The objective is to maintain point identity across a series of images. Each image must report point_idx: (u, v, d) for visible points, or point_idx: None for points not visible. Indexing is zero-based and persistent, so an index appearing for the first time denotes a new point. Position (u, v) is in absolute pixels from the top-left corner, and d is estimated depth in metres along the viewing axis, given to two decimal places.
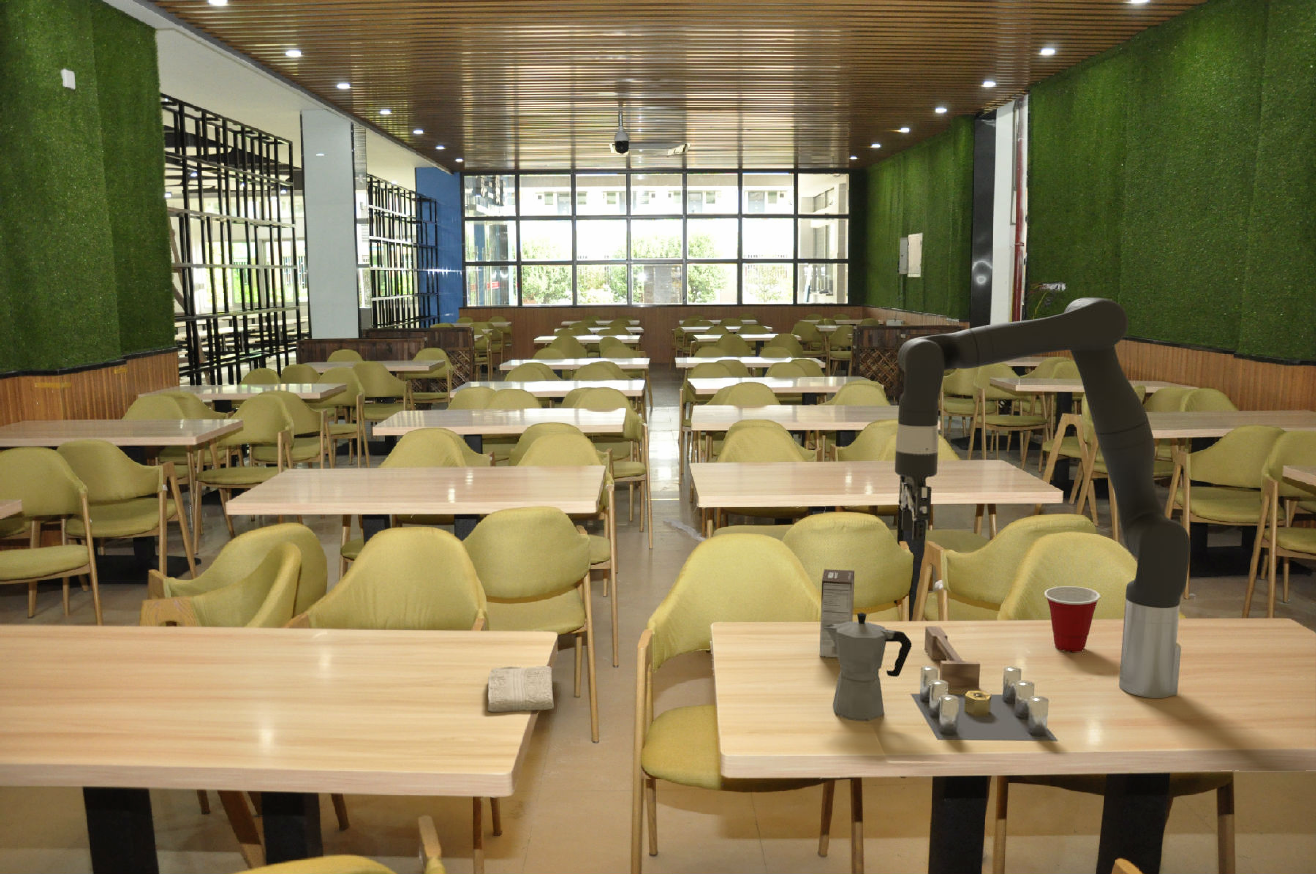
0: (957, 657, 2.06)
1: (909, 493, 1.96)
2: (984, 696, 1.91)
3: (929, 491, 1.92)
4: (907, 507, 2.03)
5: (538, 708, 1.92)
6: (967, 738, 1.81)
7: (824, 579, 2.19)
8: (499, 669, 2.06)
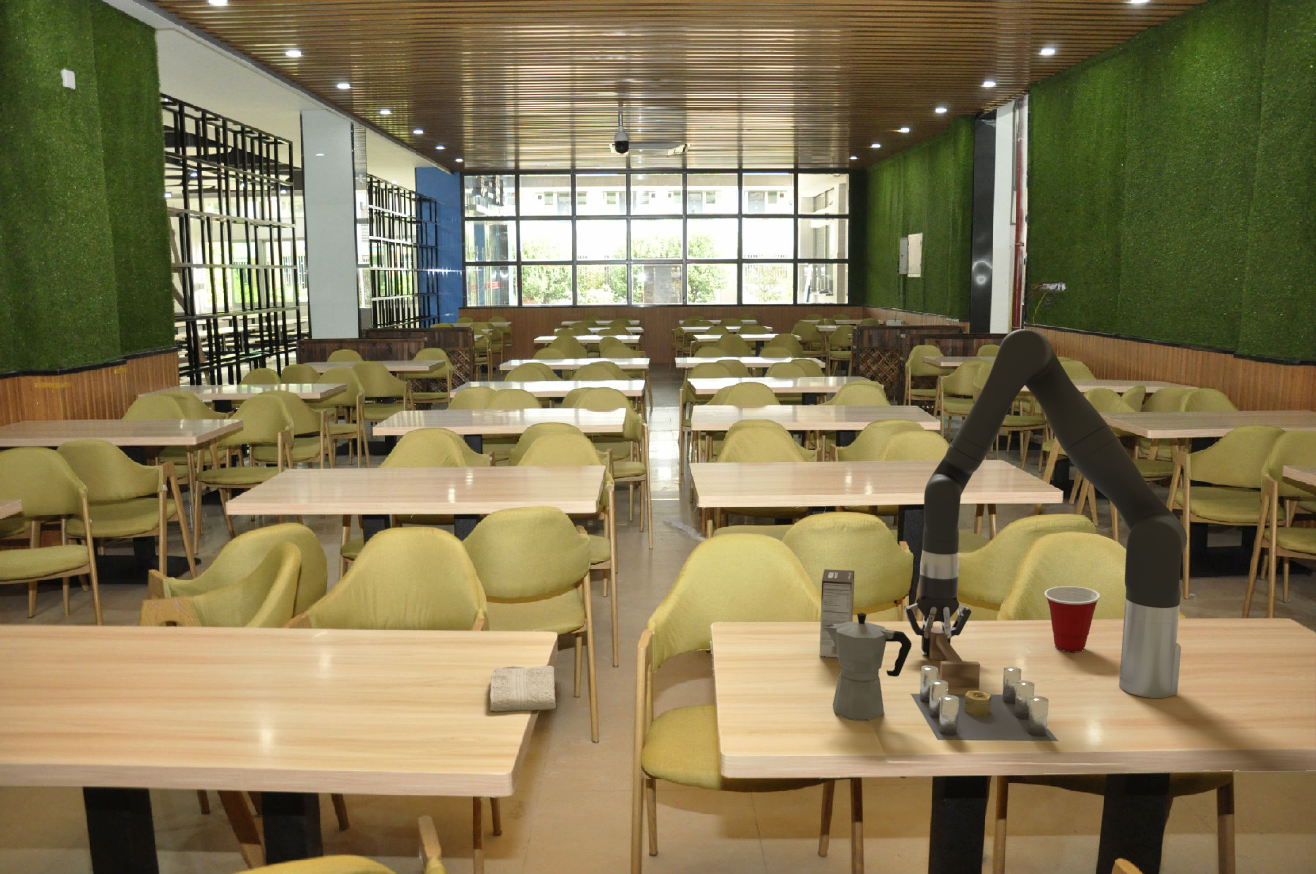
0: (957, 657, 2.06)
1: None
2: (984, 696, 1.91)
3: None
4: None
5: (540, 708, 1.92)
6: (967, 738, 1.81)
7: (824, 579, 2.19)
8: (502, 668, 2.06)
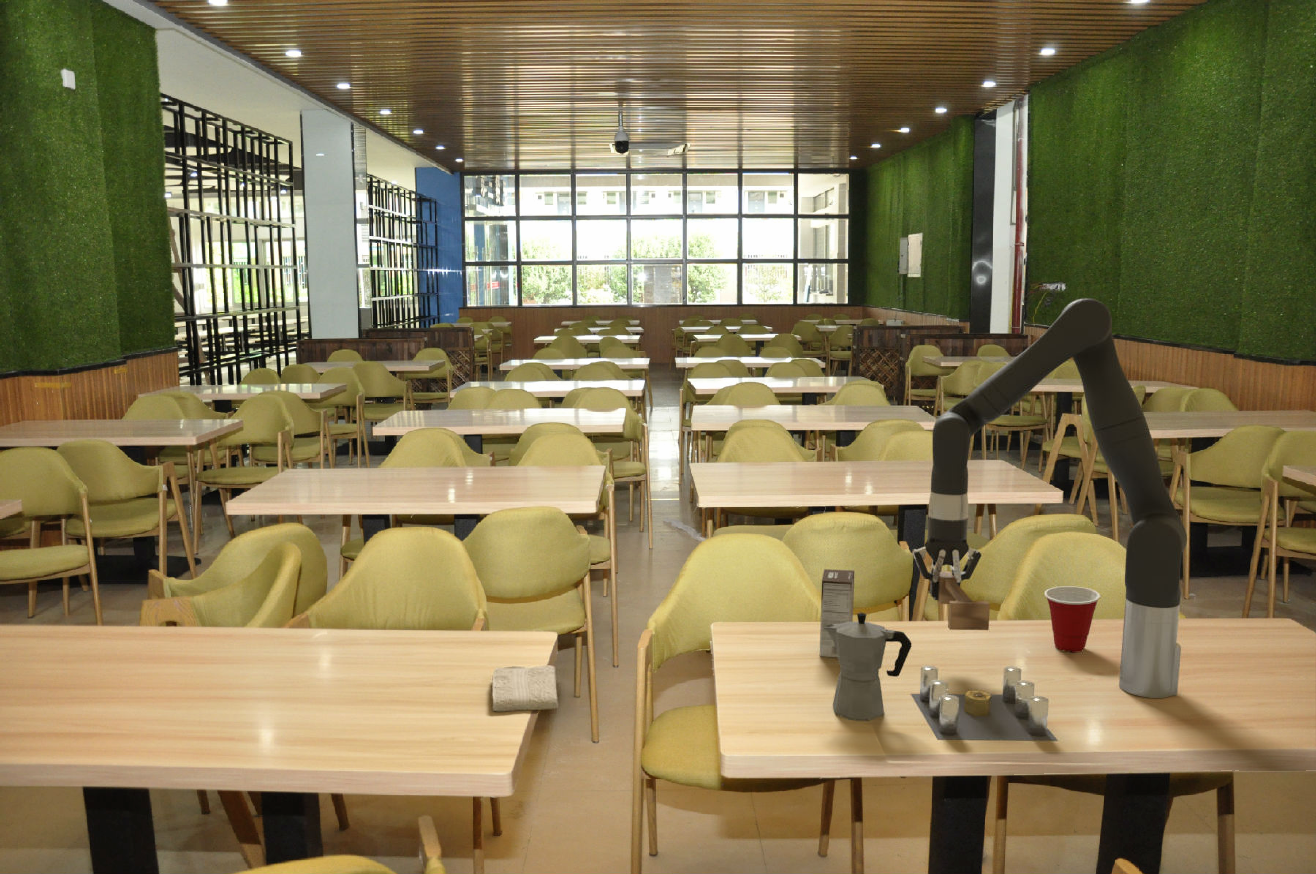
0: (966, 597, 2.01)
1: (958, 557, 2.14)
2: (984, 696, 1.91)
3: None
4: None
5: (542, 707, 1.92)
6: (967, 738, 1.81)
7: (824, 579, 2.19)
8: (503, 668, 2.06)
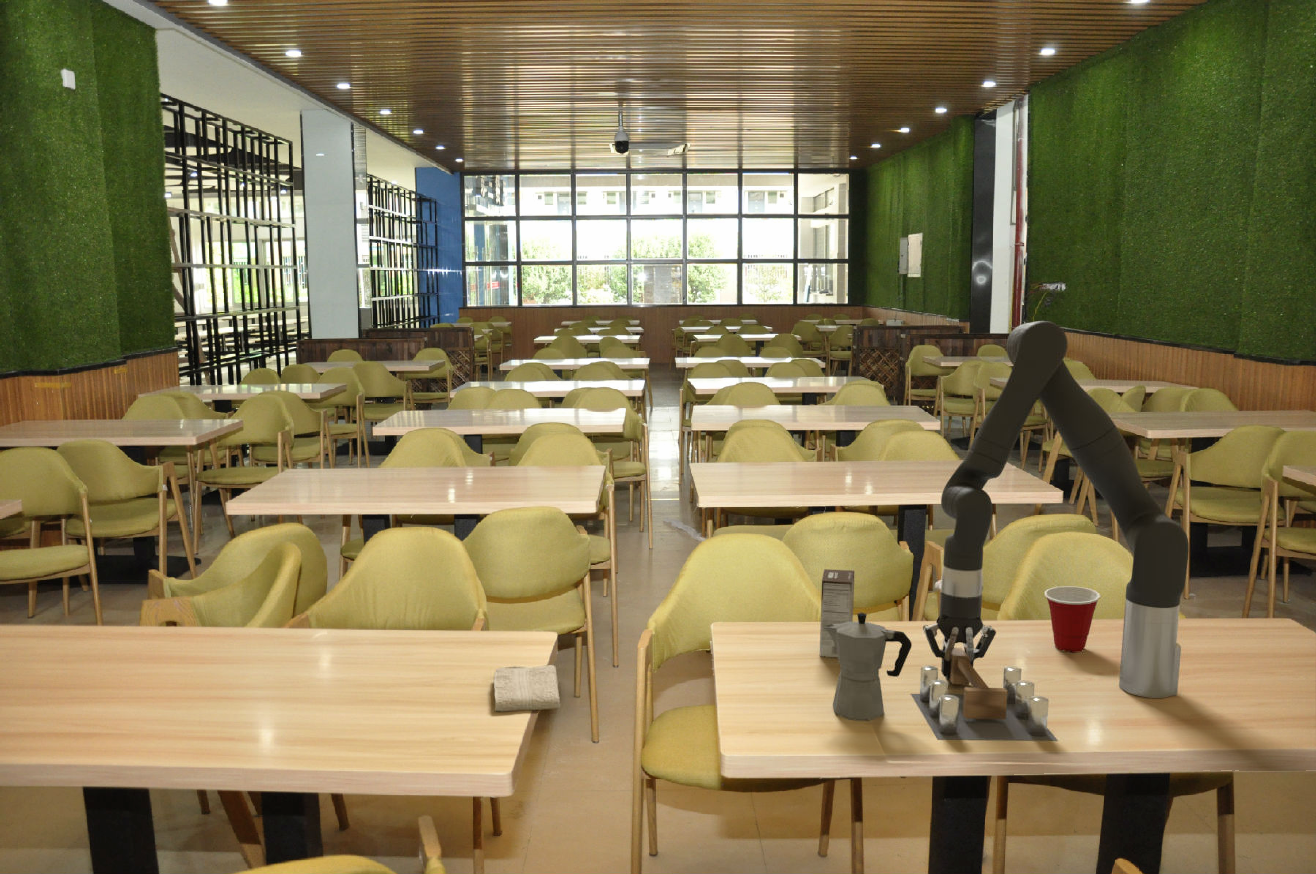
0: (982, 683, 1.90)
1: None
2: None
3: None
4: None
5: (545, 707, 1.92)
6: (967, 738, 1.81)
7: (824, 579, 2.19)
8: (504, 668, 2.06)
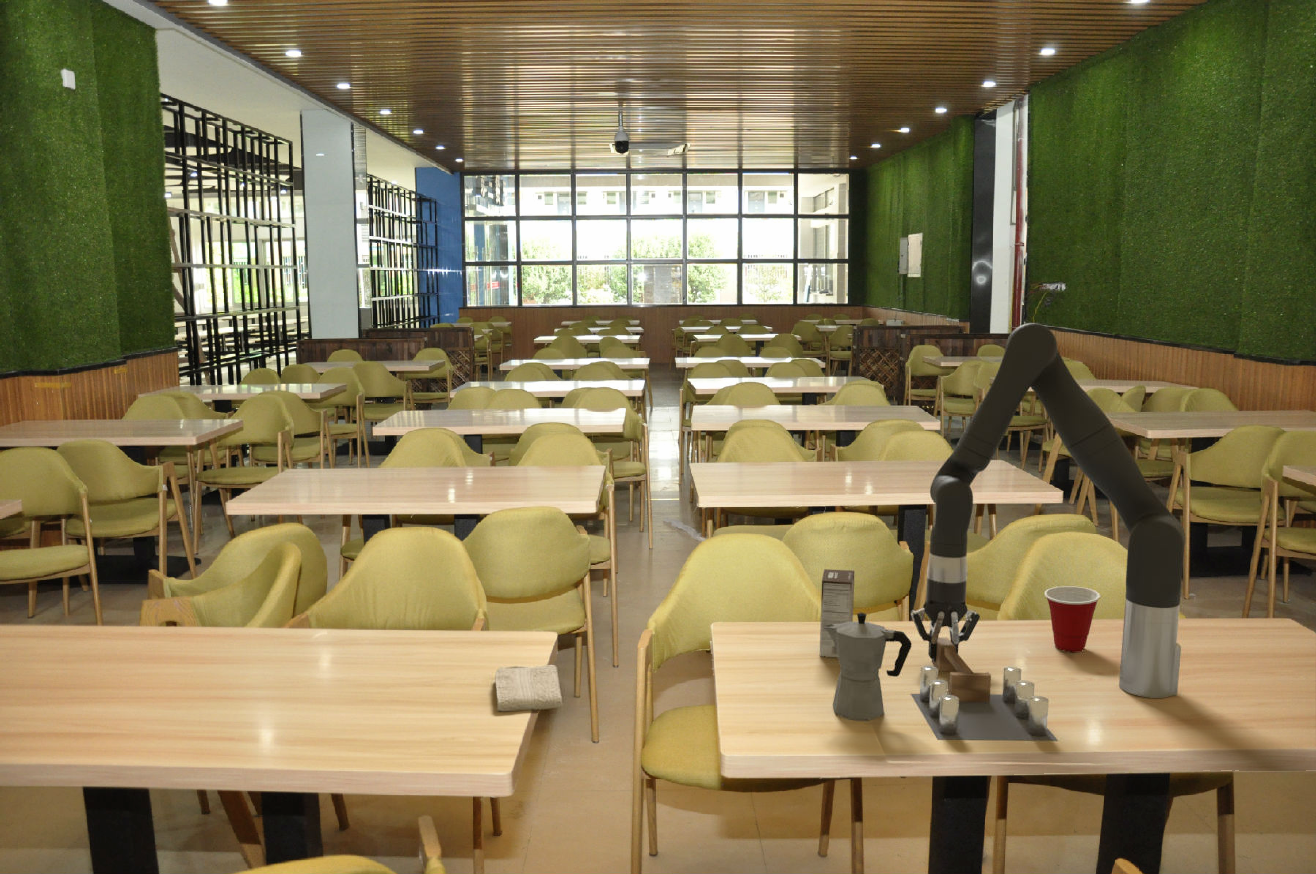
0: (967, 668, 1.99)
1: (957, 619, 2.13)
2: None
3: None
4: None
5: (547, 707, 1.92)
6: (967, 738, 1.81)
7: (824, 579, 2.19)
8: (505, 668, 2.06)
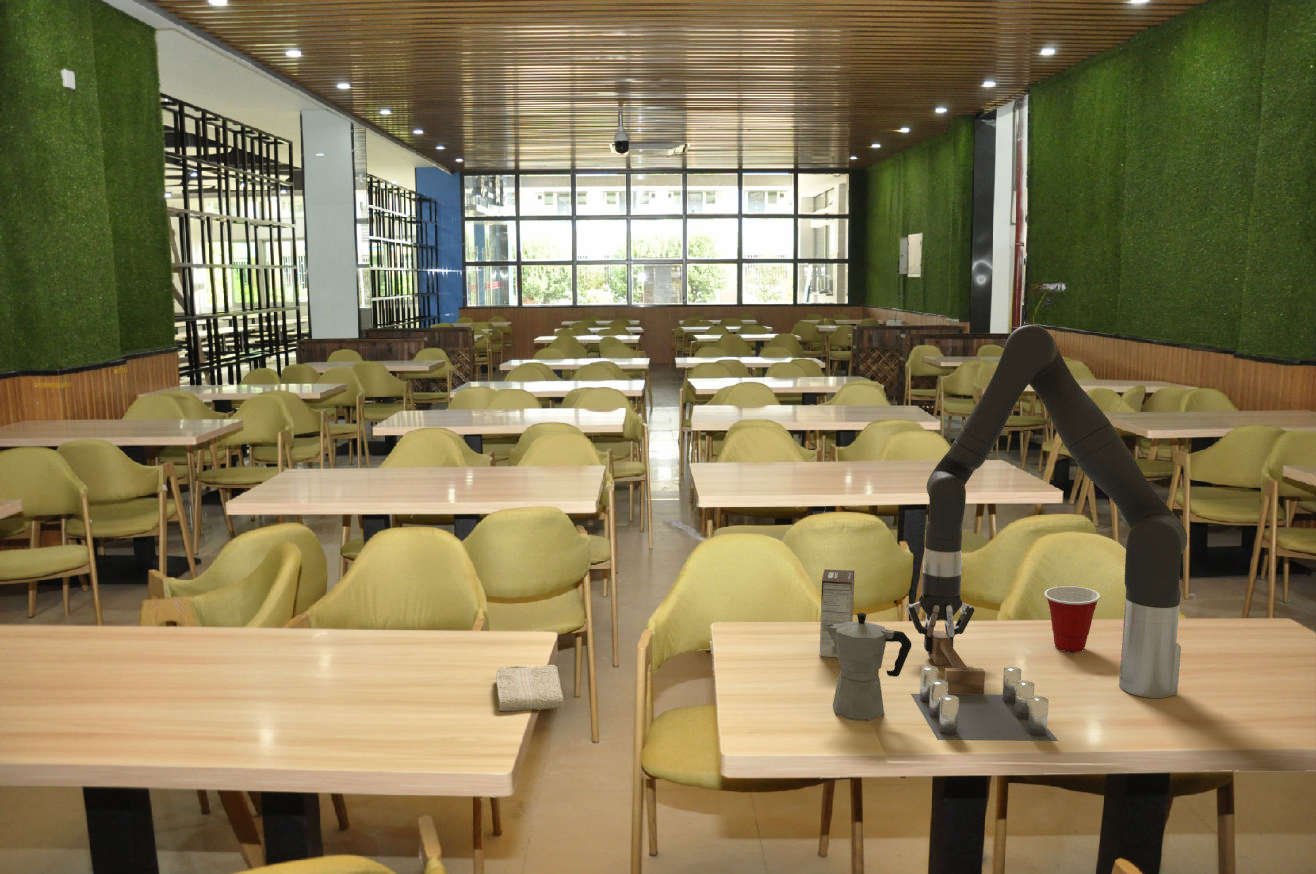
0: (962, 664, 2.03)
1: None
2: None
3: None
4: None
5: (549, 707, 1.92)
6: (967, 738, 1.81)
7: (824, 579, 2.19)
8: (505, 668, 2.06)
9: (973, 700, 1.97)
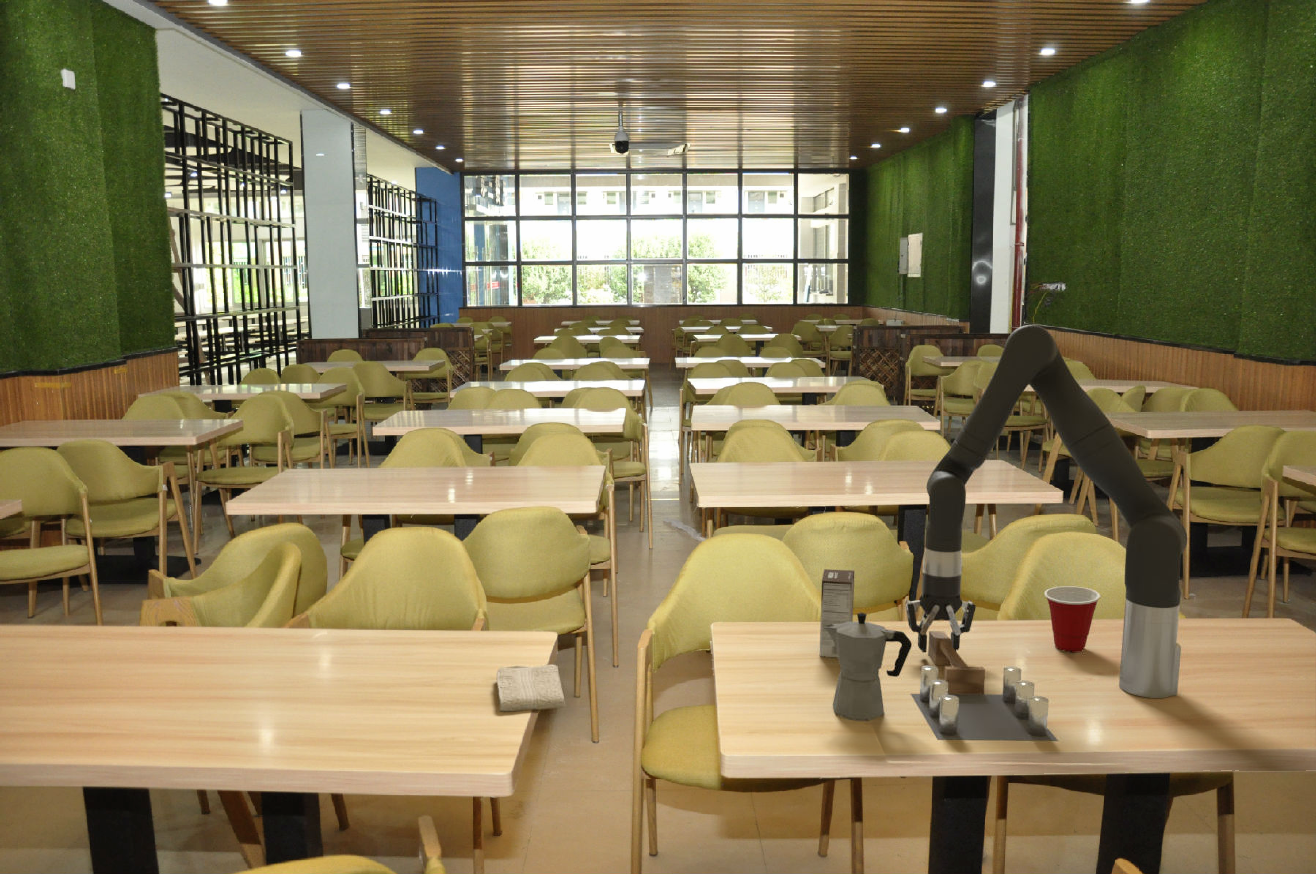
0: (962, 663, 2.03)
1: None
2: None
3: None
4: None
5: (550, 707, 1.92)
6: (967, 738, 1.81)
7: (824, 579, 2.19)
8: (505, 668, 2.06)
9: (973, 700, 1.97)
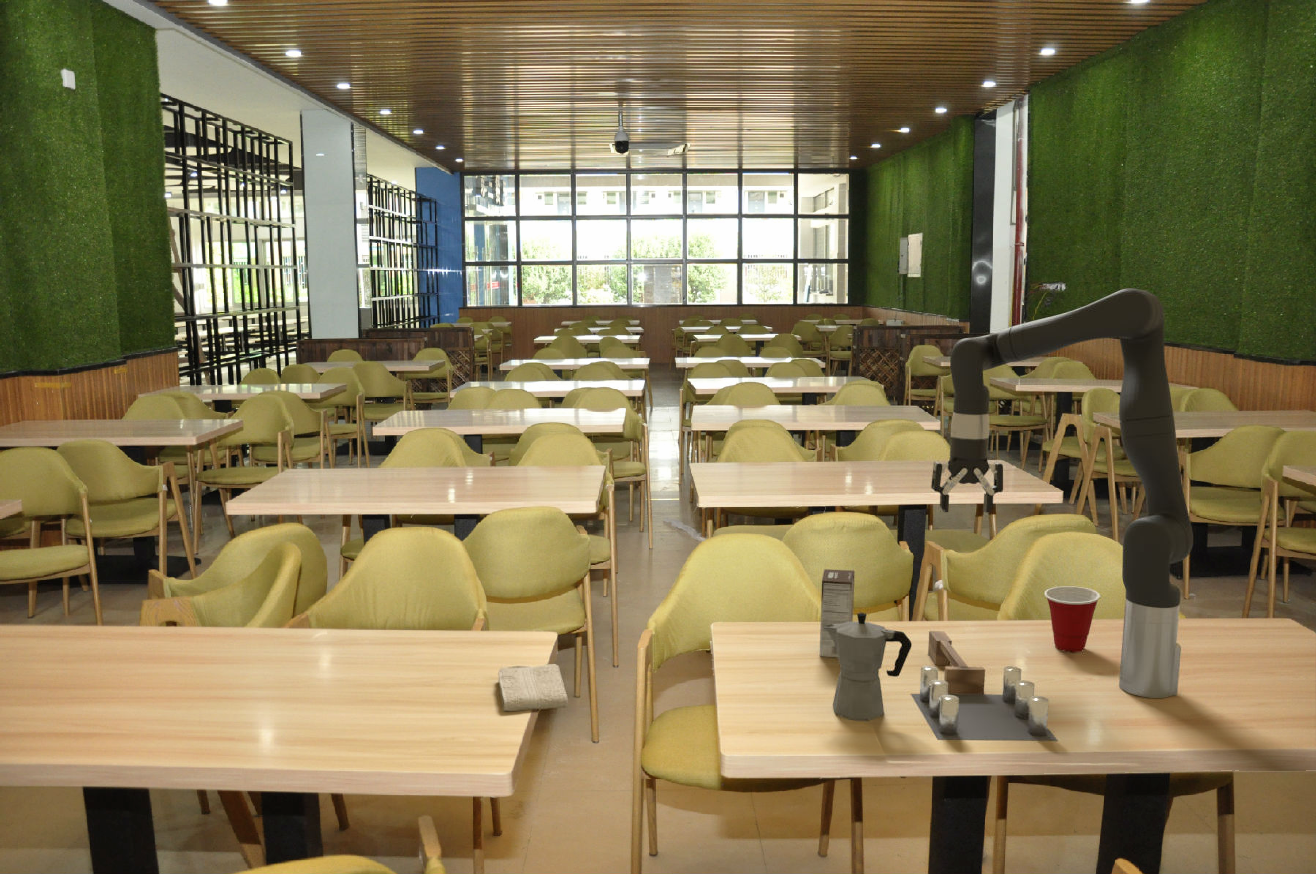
0: (962, 662, 2.03)
1: (981, 473, 2.23)
2: None
3: None
4: None
5: (553, 706, 1.93)
6: (967, 738, 1.81)
7: (824, 579, 2.19)
8: (507, 668, 2.06)
9: (973, 700, 1.97)
